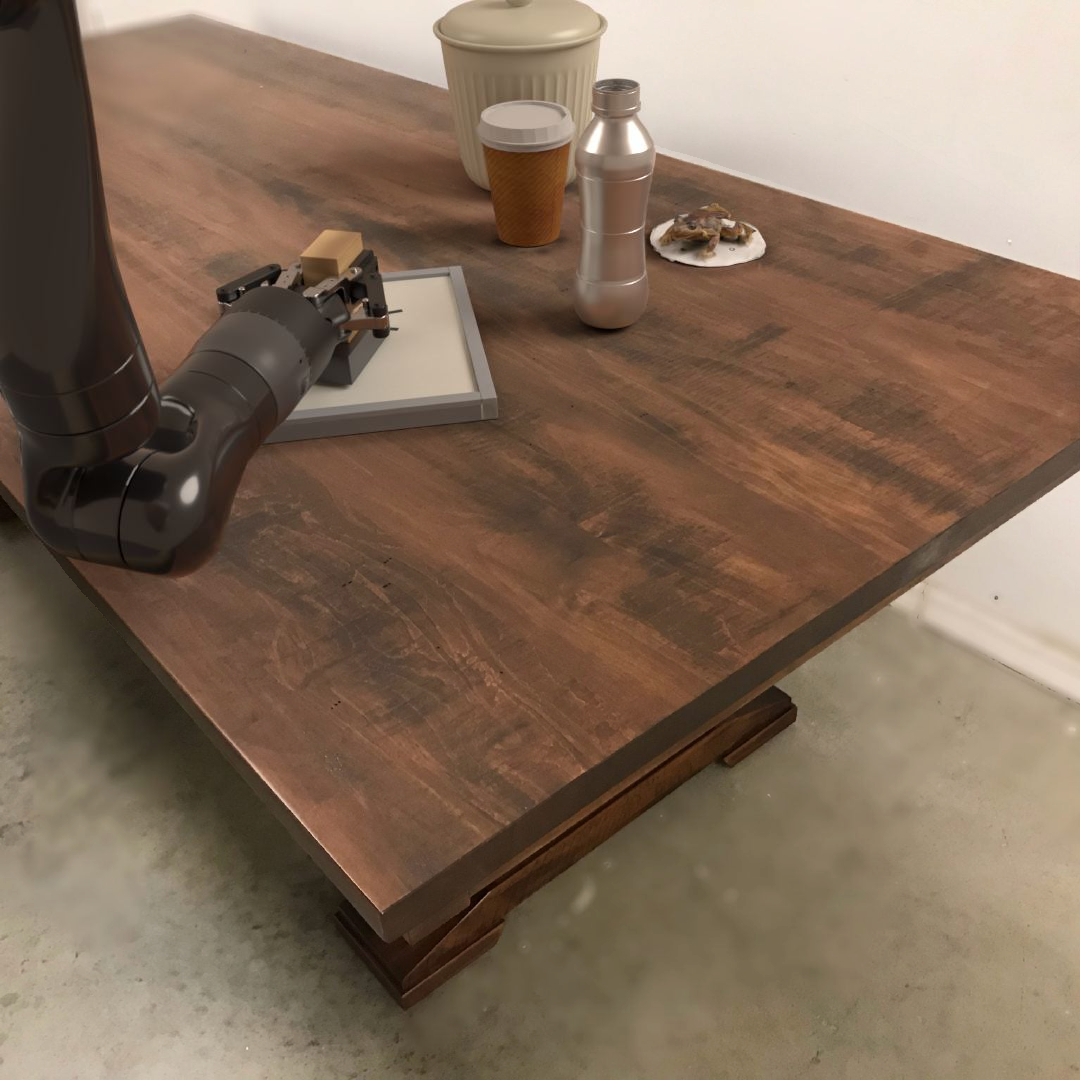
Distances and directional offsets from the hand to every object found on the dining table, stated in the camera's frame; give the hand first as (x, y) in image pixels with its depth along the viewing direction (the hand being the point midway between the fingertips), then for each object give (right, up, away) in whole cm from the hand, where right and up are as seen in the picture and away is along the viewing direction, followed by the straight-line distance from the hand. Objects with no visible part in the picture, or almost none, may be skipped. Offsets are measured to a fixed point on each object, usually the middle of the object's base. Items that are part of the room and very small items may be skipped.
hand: (348, 259), depth 87 cm
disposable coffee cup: (+14, +9, +25) cm, 30 cm away
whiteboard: (0, -7, +6) cm, 9 cm away
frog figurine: (+32, +7, +23) cm, 40 cm away
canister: (+14, +18, +37) cm, 43 cm away
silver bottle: (+21, -3, +10) cm, 24 cm away
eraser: (0, -7, +2) cm, 8 cm away
